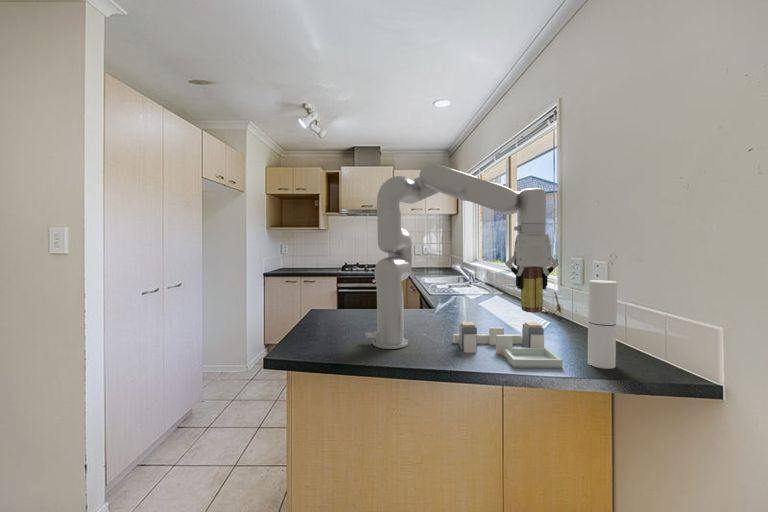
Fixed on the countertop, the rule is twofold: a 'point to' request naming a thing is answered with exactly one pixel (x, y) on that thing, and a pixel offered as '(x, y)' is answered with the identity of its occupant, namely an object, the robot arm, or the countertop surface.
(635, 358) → the countertop surface
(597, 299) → the cylindrical container
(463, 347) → the clip rack
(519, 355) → the tray
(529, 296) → the sauce bottle
